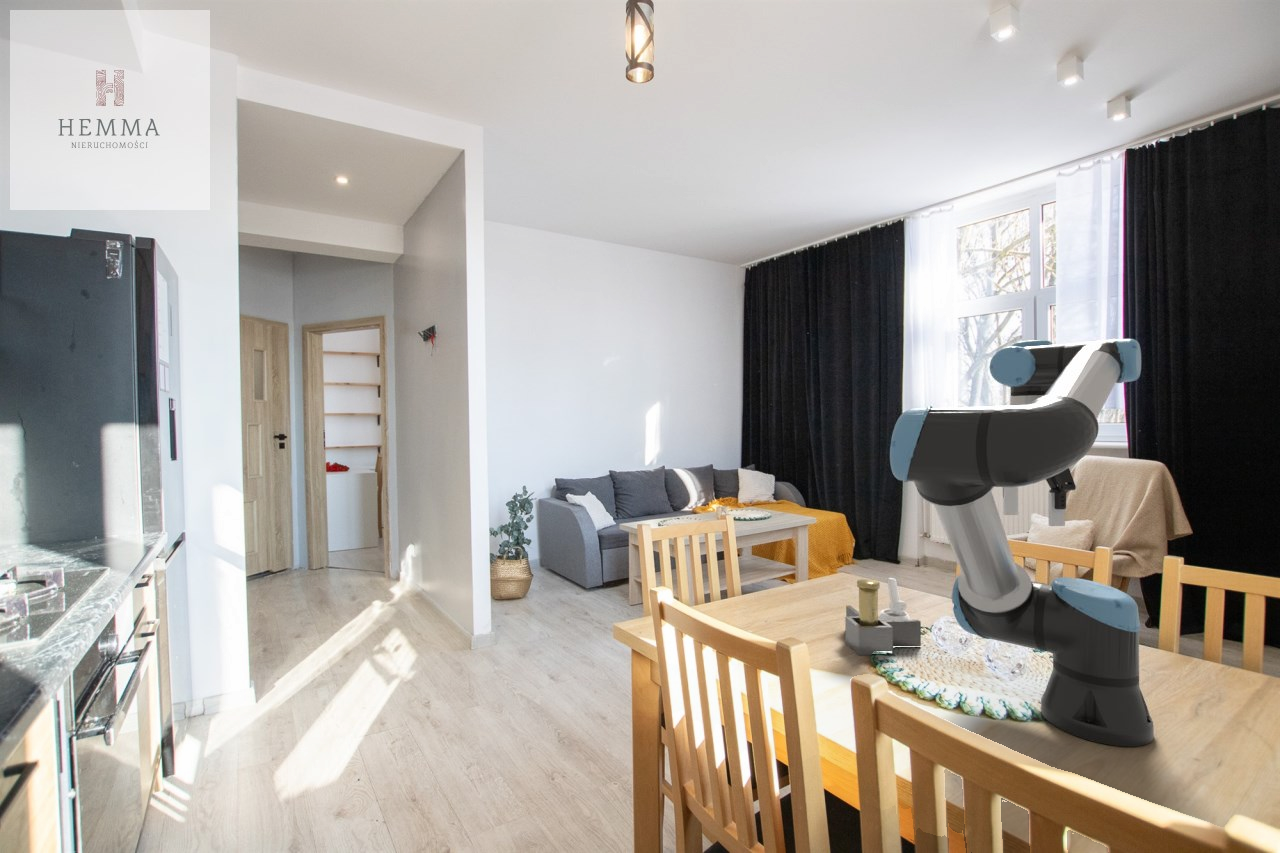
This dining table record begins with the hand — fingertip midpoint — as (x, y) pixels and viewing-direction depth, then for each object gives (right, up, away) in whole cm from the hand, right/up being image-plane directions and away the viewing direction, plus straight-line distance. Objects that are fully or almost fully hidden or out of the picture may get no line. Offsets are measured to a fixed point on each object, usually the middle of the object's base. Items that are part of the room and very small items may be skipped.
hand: (1032, 520), depth 123 cm
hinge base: (-25, -31, +16) cm, 43 cm away
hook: (-15, -31, +32) cm, 47 cm away
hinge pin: (-29, -31, +12) cm, 44 cm away
